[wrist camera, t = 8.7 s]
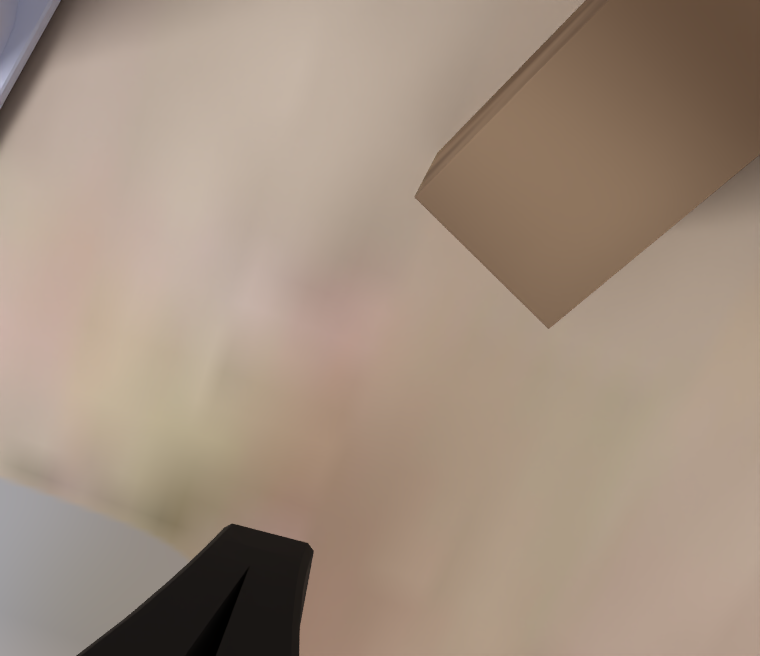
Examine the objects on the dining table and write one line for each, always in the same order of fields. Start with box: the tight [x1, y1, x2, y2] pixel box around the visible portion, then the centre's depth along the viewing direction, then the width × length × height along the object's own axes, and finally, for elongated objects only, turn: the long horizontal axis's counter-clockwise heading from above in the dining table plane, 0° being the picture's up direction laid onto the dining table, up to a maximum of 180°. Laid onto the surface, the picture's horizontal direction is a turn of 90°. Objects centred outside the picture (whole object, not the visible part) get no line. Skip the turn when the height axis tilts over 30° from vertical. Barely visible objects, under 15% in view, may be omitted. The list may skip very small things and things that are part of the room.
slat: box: [415, 0, 760, 329], centre depth 13 cm, size 10×4×5 cm, turn 138°
